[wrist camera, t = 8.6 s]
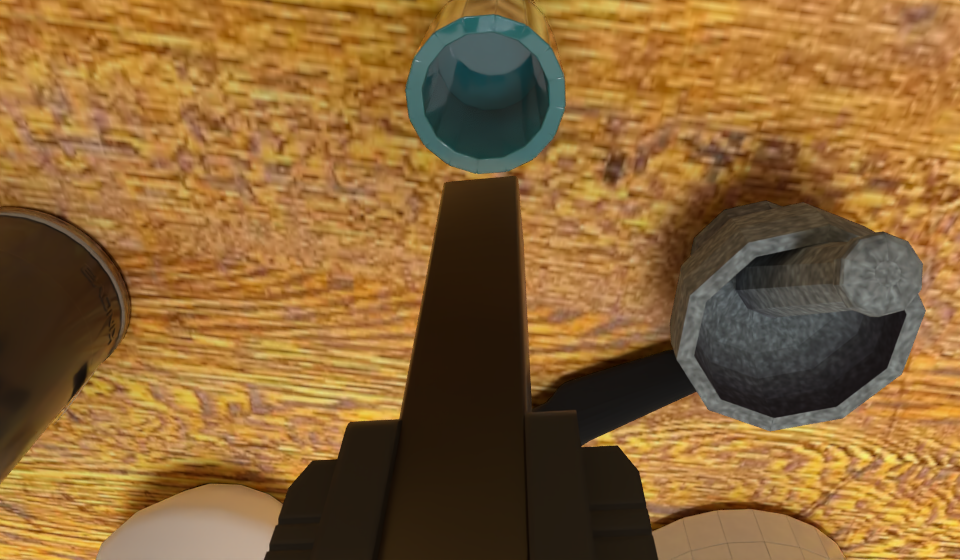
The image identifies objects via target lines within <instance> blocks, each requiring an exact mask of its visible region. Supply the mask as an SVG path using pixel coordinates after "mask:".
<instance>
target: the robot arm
mask: <svg viewBox="0 0 960 560" xmlns="http://www.w3.org/2000/svg"><path fill="white" fill-rule="evenodd" d="M129 319H130V302H129V296H128V292H127V289H126V286H125V283H124V281H123V279H122V277H121V275H120V273H119V271H118V269H117V268H116V266H115V264H114V263H113V262H112V260H111V259H110V258H109V256H108V255H107V254H106V253H105V252H104V250H103V249H102V248H101V247H100V246H99V245H98V244H97V243H96V242H95V241H93V240H92V239H91V238H90V237H89V236H87V235H86V234H85V233H83V232H82V231H80V230H79V229H77V228H76V227H74V226H72V225H71V224H69V223H67V222H65V221H63V220H61V219H59V218H57V217H54V216H52V215H49V214H46V213H43V212H39V211H35V210H31V209H25V208H15V207H5V208H0V484H1V483H2V481H3V480H4V479H5V478H6V477H7V475H8V474H9V473H10V472H11V471H12V469H13V468H14V467H15V466H16V465H17V463H18V462H19V461H20V460H21V459H22V457H23V456H24V455H25V454H26V453H27V451H28V450H29V449H30V448H31V447H32V445H33V444H34V443H35V442H36V441H37V439H38V438H39V437H40V436H41V435H42V433H43V432H44V431H45V430H46V429H47V427H48V426H49V425H50V424H51V423H52V421H53V420H54V419H55V418H56V417H57V415H58V414H59V413H60V412H61V411H62V410H63V408H64V407H65V406H66V405H67V404H68V402H69V401H70V400H71V399H72V398H73V396H74V395H75V394H76V393H77V392H78V390H79V389H80V388H81V387H82V386H83V387H84V386H85V385H86V383H87V382H88V381H89V379H90V378H91V376H92V375H93V374H94V373H93V372H95V371H96V370H97V368H98V367H99V366H100V364H101V363H102V362H104V361H105V360H106V359H107V358H108V357H109V356H110V355H111V354H112V353H113V351H114V350H115V349H116V348H117V346H118V345H119V344H120V343H121V341H122V339H123V338H124V336H125V334H126V331H127V328H128V325H129ZM88 378H89V379H88ZM84 383H85V384H84ZM83 387H82V388H81V389H80V391H81V390H82V389H83ZM80 391H79V392H78V393H77V395H76V396H75V397H74V399H73V400H72V401H71V403H70V404H69V406H70V405H71V404H72V402H73V401H74V400H75V398H76V397H77V396H78V394H79V393H80ZM69 406H68V407H67V408H66V410H67V409H68V408H69ZM66 410H65V411H66ZM65 411H64V412H63V414H64V413H65ZM63 414H62V415H63ZM62 415H61V416H62ZM61 416H60V417H61ZM59 419H60V418H59ZM59 419H58V420H59ZM55 424H56V423H55ZM401 426H402V420H401V419H396V420H377V421H359V422H350V423H349V424H348V425H347V428H346V431H345V434H344V438H343V441H342V445H341V448H340V452H339V456H338V459H336V460H316V461H312V462H311V463H310V464H309V465H308V466H307V468H306V469H305V470H304V471H303V472H302V473H301V474H300V476H299V477H298V478H297V479H296V480H295V481H294V482H293V484H292V485H291V486H290V487H289V488H288V491H287V494H286V497H285V500H284V503H283V506H282V509H281V512H280V514H279V517H278V525H276V526H275V529H274V532H273V535H272V538H271V540H270V543H269V551H267V552H266V555H265V558H264V560H377V558H378V552H379V547H380V541H381V536H382V530H383V525H384V519H385V514H386V508H387V503H388V497H389V492H390V486H391V481H392V475H393V470H394V464H395V459H396V453H397V448H398V442H399V437H400V431H401ZM525 438H526V467H527V495H528V523H529V551H530V560H658V556H657V551H656V546H655V542H654V537H653V535H652V528H651V524H650V519H649V515H648V510H647V509H646V501H645V497H644V492H643V488H642V483H641V479H640V474H639V471H638V470H637V468H636V467H635V466H634V465H633V464H632V462H631V461H630V460H629V459H628V458H627V456H626V455H625V454H624V453H623V452H622V450H621V449H620V448H619V447H618V446H599V447H581V442H580V434H579V426H578V419H577V412H576V410H568V411H549V412H530V413H525Z"/></svg>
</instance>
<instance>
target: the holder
mask: <svg viewBox="0 0 960 560" xmlns="http://www.w3.org/2000/svg"><path fill="white" fill-rule="evenodd" d="M405 92H406V100H407V107H408V115H409V119H410V122H411V123H412V125H413V127H414V129H415V130H416V132H417V134H418V136H419V137H420V139H421V141H422V143H423V144H424V145H425V146H426V148H428V149H429V150H430V151H431V152H433V153H434V154H435V155H436V156H438V157H439V158H440V159H441V160H443V161H444V162H445V163H446V164H449V165H450V166H453V167H456V168H459V169H462V170H466V171H469V172H472V173H475V174H476V173H477V174H484V173H499V172H506V171H510V170H512V169H514V168H516V167H518V166H520V165H523V164H525V163H527V162H529V161H531V160H533V158H536V156H537V155H538V154H539V153H540V152H541V151H542V150H543V149H544V148H545V147H546V146H547V145H548V144H549V142H550V141H551V140H552V139H553V138H554V136H555V135H556V132H557V130H558V127H559V124H560V122H561V119H562V116H563V114H564V111H565V106H566V97H565V77H564V72H563V68H562V64H561V61H560V57H559V53H558V49H557V46H556V42H555V38H554V36H553V34H552V32H551V29H550V27H549V24H548V23H547V21H546V19H545V17H544V16H543V14H542V13H541V12H540V10H539V9H538V8H537V7H536V6H535V5H534V4H533V3H531V2H530V1H529V0H451V1H450V2H449V3H448V4H446V5H445V7H444V8H443V9H442V10H441V11H440V12H439V14H438V15H437V17H436V18H435V19H434V21H433V22H432V23H431V25H430V27H429V29H428V31H427V33H426V34H425V36H424V38H423V40H422V42H421V44H420V46H419V48H418V50H417V52H416V54H415V56H414V58H413V61H412V64H411V68H410V72H409V75H408V79H407V83H406V89H405Z"/></svg>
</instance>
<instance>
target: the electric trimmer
mask: <svg viewBox="0 0 960 560" xmlns="http://www.w3.org/2000/svg"><path fill="white" fill-rule="evenodd" d="M694 392H697V391H696V389H695V388H694V386H693V385H692V383H691V381H690V380H689V378H688V377H687V375H686V374H685V372H684V370H683V369H682V367H681V366H680V364H679V362H678V361H677V359H676V356H675V353H674V350H668V351H664V352H661V353H657V354H654V355H651V356H648V357H644V358H641V359H638V360H635V361H631V362H628V363H625V364H622V365H618V366H615V367H612V368H608V369H605V370H602V371H599V372H595V373H592V374H589V375H586V376H583V377H580V378H577V379H574V380H571V381H568V382H566V383H564V384H562V385H561V386H560V387H559V388H558V389H557V391H556V392H555V393H554V395H553V396H552V397H551V398H550V399H549V401H548V402H547V403H545V404H542V405H540V406H538V407H535V408H533V409H532V412H549V411H568V410H576V412H577V419H578V426H579V434H580V442H581V446H582V445H584V444H585V443H587V442H589V441H590V440H592V439H594V438H597V437H599V436H601V435H603V434H605V433H607V432H610V431H612V430H614V429H616V428H618V427H621V426H623V425H625V424H627V423H629V422H631V421H634V420H636V419H638V418H640V417H642V416H644V415H647V414H649V413H651V412H653V411H655V410H657V409H660V408H662V407H664V406H666V405H668V404H671V403H673V402H675V401H677V400H679V399H681V398H684V397H686V396H688V395H690V394H692V393H694Z"/></svg>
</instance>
